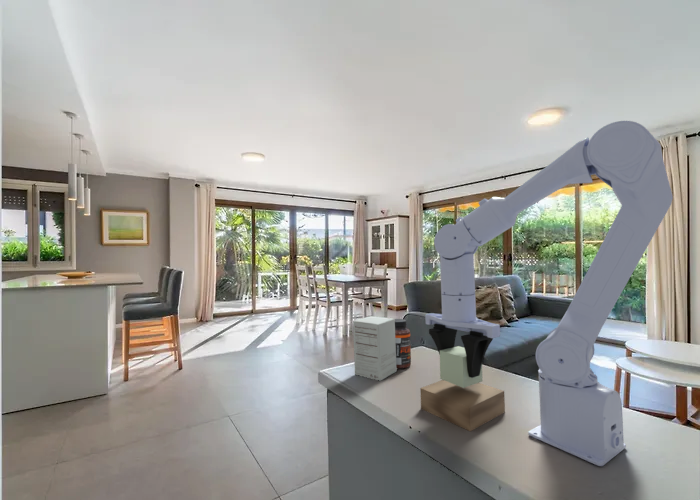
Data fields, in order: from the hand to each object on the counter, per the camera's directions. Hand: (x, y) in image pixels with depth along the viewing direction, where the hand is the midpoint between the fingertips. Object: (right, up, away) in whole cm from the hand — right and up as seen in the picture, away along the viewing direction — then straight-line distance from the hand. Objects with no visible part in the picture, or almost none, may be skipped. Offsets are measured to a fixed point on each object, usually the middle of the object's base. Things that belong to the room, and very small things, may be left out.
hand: (460, 371), depth 59 cm
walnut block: (0, -7, 0) cm, 7 cm away
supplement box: (-13, -8, +20) cm, 25 cm away
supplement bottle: (-7, -8, +25) cm, 27 cm away
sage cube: (0, -2, 0) cm, 2 cm away
